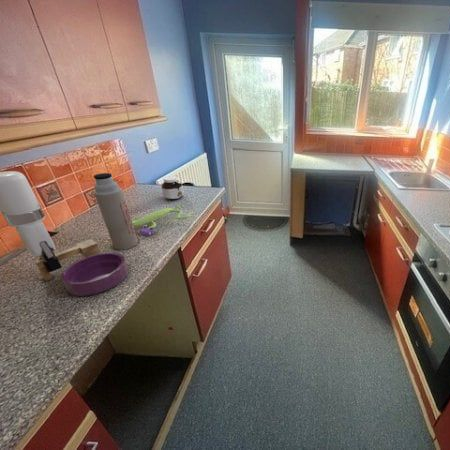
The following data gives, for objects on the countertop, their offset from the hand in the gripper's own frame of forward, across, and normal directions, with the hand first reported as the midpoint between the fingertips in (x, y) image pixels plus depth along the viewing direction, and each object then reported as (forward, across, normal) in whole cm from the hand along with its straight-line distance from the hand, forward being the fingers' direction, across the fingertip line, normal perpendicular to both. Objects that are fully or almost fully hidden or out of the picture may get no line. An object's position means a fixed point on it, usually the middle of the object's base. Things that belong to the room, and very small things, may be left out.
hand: (53, 267), depth 79 cm
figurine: (+3, -7, +40) cm, 41 cm away
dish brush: (+3, 0, +5) cm, 6 cm away
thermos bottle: (+3, -2, +22) cm, 22 cm away
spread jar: (+3, -32, +62) cm, 70 cm away
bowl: (+3, +13, +7) cm, 15 cm away
